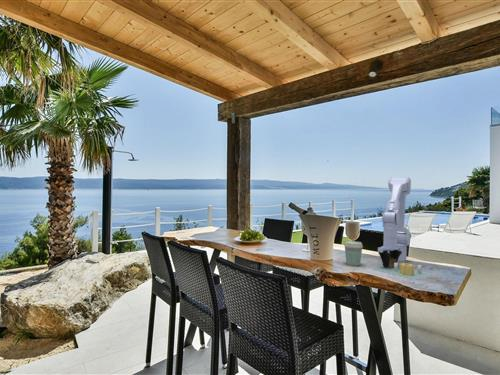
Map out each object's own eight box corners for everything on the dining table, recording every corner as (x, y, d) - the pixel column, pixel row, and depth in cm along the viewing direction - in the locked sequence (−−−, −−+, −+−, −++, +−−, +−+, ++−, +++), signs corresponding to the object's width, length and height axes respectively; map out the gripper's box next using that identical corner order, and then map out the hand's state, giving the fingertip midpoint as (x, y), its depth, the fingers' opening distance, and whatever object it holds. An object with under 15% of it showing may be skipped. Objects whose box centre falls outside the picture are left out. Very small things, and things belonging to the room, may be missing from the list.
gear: (380, 266, 143) (381, 257, 143) (388, 264, 145) (388, 256, 145) (391, 268, 138) (391, 260, 138) (398, 267, 141) (398, 259, 141)
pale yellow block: (399, 274, 129) (399, 264, 129) (400, 271, 134) (400, 262, 134) (413, 276, 126) (413, 266, 126) (414, 273, 131) (414, 264, 131)
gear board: (367, 270, 140) (368, 259, 140) (390, 266, 148) (390, 256, 148) (413, 283, 121) (413, 271, 121) (436, 278, 129) (436, 267, 129)
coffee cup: (366, 269, 142) (366, 243, 142) (349, 269, 141) (349, 244, 141) (356, 264, 150) (357, 240, 150) (340, 265, 149) (341, 240, 149)
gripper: (387, 239, 135) (387, 270, 135) (407, 237, 142) (407, 266, 142) (374, 237, 141) (373, 266, 141) (394, 235, 148) (393, 263, 148)
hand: (389, 266), depth 142 cm, fingers closed on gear, 5 cm apart
